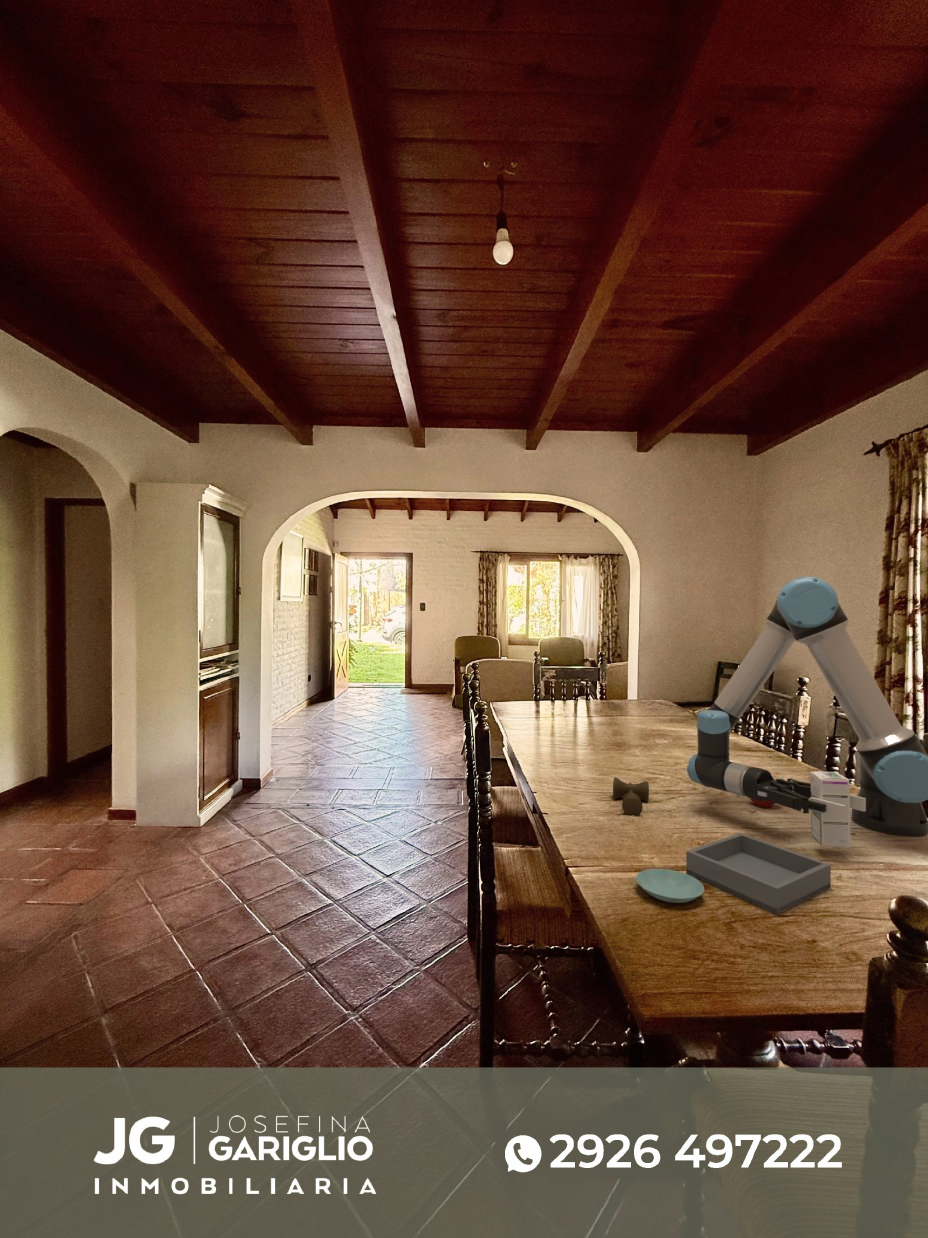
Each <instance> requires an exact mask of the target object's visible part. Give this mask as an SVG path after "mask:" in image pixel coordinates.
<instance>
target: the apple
mask: <svg viewBox="0 0 928 1238" xmlns="http://www.w3.org/2000/svg"><path fill="white" fill-rule="evenodd" d="M750 801H751V802H752V803H753V804H755V806H757V807H761V808H771V807H773V806H774V805H776V803H773V802H770V801H767V800H766V801H758V800H754V799H750Z"/></svg>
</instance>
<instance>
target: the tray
mask: <svg viewBox="0 0 928 1238" xmlns="http://www.w3.org/2000/svg"><path fill="white" fill-rule="evenodd" d="M685 855H686V857H685V858H686V862H685V864H686V865H685V866H686V871H685V872H686V873H685V874H687V875H690V876H692V877H694V878H695V879H697V880H698V881H701V882H704V883H705V884H708V885H710V886H712V887H714V888H717V889H719V890H721V891H724V892H726V893H727V894H730V895H732V896H734V897H737V898H738V899H741V900H743V901H745V902H748V903H750V904H751V905H755V906H757V907H758V908H761V909H763V910H765V911H767V912H770V913H772V914H774V915H776V916H778V915H780V914H782V913H784V912H787V911H789V910H791V909H793V908H795V907H797V906H799V905H801V904H803V903H804V902H806V901H809V900H811V899H813V898H815V897H817V896H818V895H820V894H822V893H825V892H826V891H829V890H831V888H832V887H831V886H832V885H831V884H832V883H831V882H832V881H831V879H832V872H831V871H832V865H831V864H830V863H828V862H824V861H822V860H819V859H816V858H813V857H810V856H808V855H805V854H801V853H798V852H795V851H794V850H791V849H787V848H784V847H781V846H779V845H775V844H773V843H771V842H768V841H764V840H761V839H758V838H756V837H753V836H750V835H747V834H744V833H741V832H739V833H736V834H733V835H731V836H730V835H729V836H727V837H725V838H721V839H719V840H716V841H713V842H709V843H706V844H703V845H701V846H698V847H695V848H694V847H693V848H691V849H689V850H686V853H685Z"/></svg>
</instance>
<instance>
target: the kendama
mask: <svg viewBox="0 0 928 1238" xmlns="http://www.w3.org/2000/svg"><path fill="white" fill-rule="evenodd" d="M649 797H650V785H649V782H648V781H647V780H646V781H643V782H640V783H632V782H629V783H626V782H624V781H622V780H621V779H619V778H618V777H615V776H614V778H613V782H612V798H613V800H618V799H620V798H622V803H621V809H622V811H623V812H624V814H626V815H628V816H632V815H634V817H636V816H639V815H641V813H642V812H643V809H644V808H643V807H644V805H643V802H645V803H648V801H649ZM642 801H643V802H642Z"/></svg>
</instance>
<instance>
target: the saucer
mask: <svg viewBox="0 0 928 1238" xmlns="http://www.w3.org/2000/svg"><path fill="white" fill-rule="evenodd" d="M635 880H636V881H635V882H636V883H637V884H638V885H639V886H640V888H641V889H643V891H644V892H646V893H647V894H648V895H650V896H651V897H653V898H655V899H657V900H658V901H662V902H665V903H669V904H670V903H671V904H684V903H688V902H692V901H694V900H695V899H696V900H697V898H698V897H700V896H702V894H704V892H705V887H704V884H703V883H702V881H701V882H700V880H699V879H697V878H694V877H692V876H690V875H688V874H686V873H684V872H681V871H677V870H672V869H668V868H667V869H666V868H649V869H648V868H647V869H645V870H642V871H640V872H638V873H637V874H636V875H635Z"/></svg>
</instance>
